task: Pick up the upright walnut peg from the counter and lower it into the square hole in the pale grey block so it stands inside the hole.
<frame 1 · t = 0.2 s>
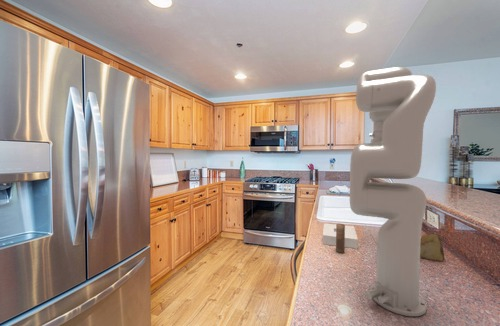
hand: (382, 173, 98), 31 cm above the worktop, tool pointing down, fingers open, 9 cm apart
peg: (340, 251, 89), on the worktop
rock: (426, 257, 84), on the worktop
hole block: (339, 238, 102), on the worktop
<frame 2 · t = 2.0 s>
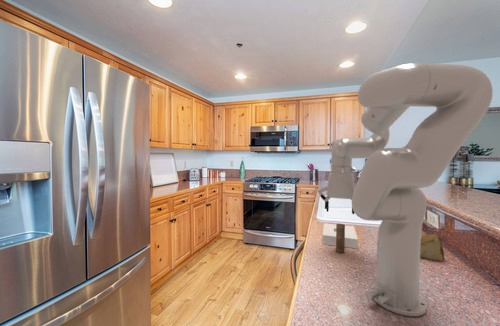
hand: (340, 212, 89), 16 cm above the worktop, tool pointing down, fingers open, 9 cm apart
nothing on the worktop moved.
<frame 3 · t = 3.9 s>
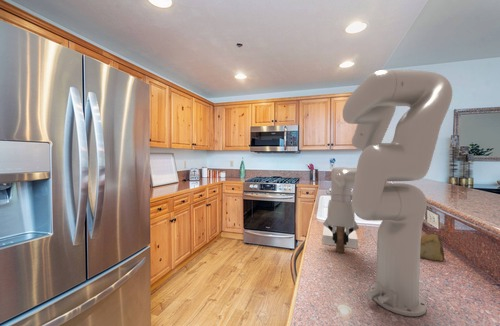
hand: (340, 242, 88), 4 cm above the worktop, tool pointing down, fingers closed on peg, 3 cm apart
peg: (340, 251, 89), on the worktop, touching gripper
everything else where it was.
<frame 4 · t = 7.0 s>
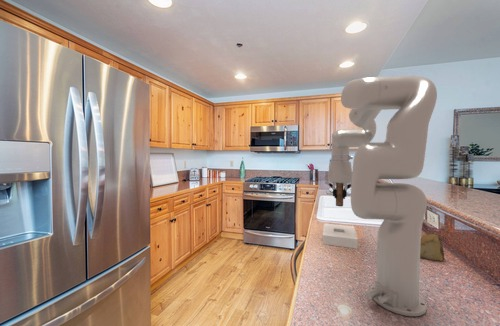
hand: (339, 197, 101), 19 cm above the worktop, tool pointing down, fingers closed on peg, 3 cm apart
peg: (339, 205, 102), point 16 cm above the worktop, touching gripper
everything else where it was.
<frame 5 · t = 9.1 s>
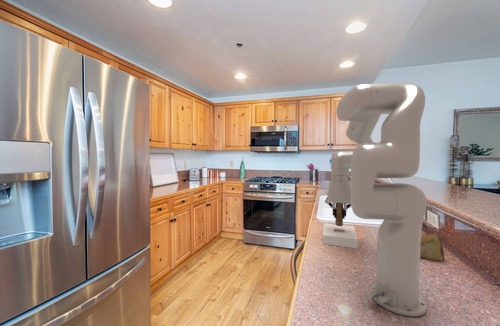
hand: (339, 217, 102), 10 cm above the worktop, tool pointing down, fingers closed on peg, 3 cm apart
peg: (339, 224, 102), point 7 cm above the worktop, touching gripper
everything else where it was.
when the fingers open (5 cm above the worktop, at t = 10.6 s): peg drops 1 cm, resting in hole block.
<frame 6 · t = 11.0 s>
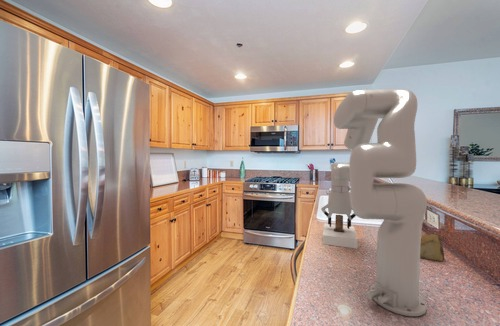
hand: (339, 226, 102), 6 cm above the worktop, tool pointing down, fingers open, 7 cm apart
peg: (339, 238, 102), resting in hole block
everything else where it was.
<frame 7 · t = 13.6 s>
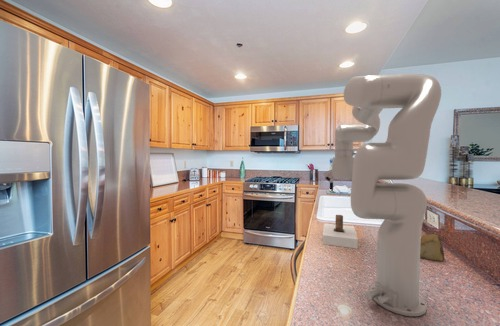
hand: (343, 191, 100), 23 cm above the worktop, tool pointing down, fingers open, 9 cm apart
nothing on the worktop moved.
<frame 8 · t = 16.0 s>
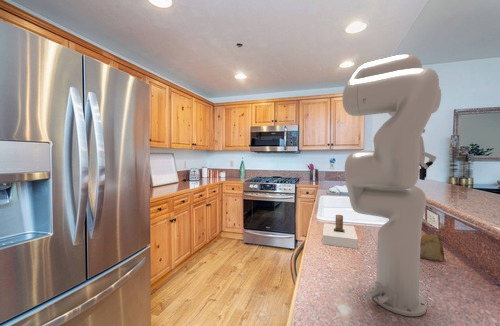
hand: (406, 179, 81), 30 cm above the worktop, tool pointing down, fingers open, 9 cm apart
nothing on the worktop moved.
at the end: peg 0.0 cm off-centre on the hole block, point 0.0 cm above the hole block's base; peg tilted 0°; the gripper is holding nothing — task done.
